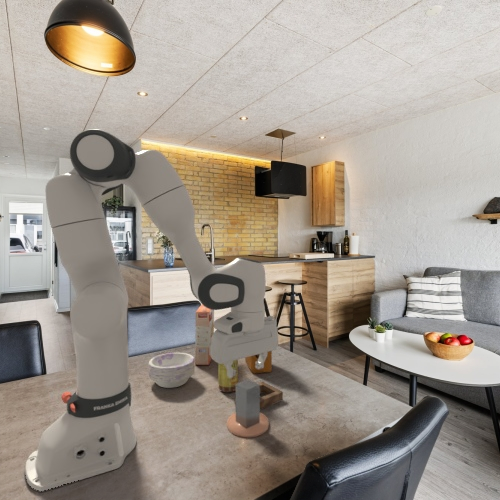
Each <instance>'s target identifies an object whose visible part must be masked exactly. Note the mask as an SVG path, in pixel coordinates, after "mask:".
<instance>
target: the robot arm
mask: <svg viewBox="0 0 500 500" xmlns="http://www.w3.org/2000/svg"><path fill="white" fill-rule="evenodd" d="M69 157H70V161H71V165H72V166H73V169H72V170H71V171H69V172H67V173H61V174H58V175H56V176H53V177H52V178H51V179H50V180H48V182H46V185H45V204H46V212H47V215H48V219H49V225H50V229H51V231H52V235H53V238H54V242H55V245H56V246H55V247H56V248H57V253H58V255H59V260H60V262H61V263H60V264H62V267H63V268H64V269H65V271H66V274H67V275H68V278H69V279H70V282H71V285H72V287H73V289H74V292H75V295H76V297H75V298H74V300H73V301H72V303H71V305H70V311H69V317H70V325H71V334H72V343H73V347H74V352H75V354H74V355H75V361H76V362H75V363H76V369H75V370H76V390H75V392H73V394H72V393H71V392H70V391H64V392H63V393H62V394H61V397H60V398H61V400H62V403H63V404H66V411H65V412H64V413H63V414H62V415H60V416H59V417H58V418H57V419H55V421H54V422H53V423H52V424H50V425H49V426H48V427H46V429H45V430H44V431H43V432H42V434H41V437H40V439H39V443H38V447H37V450H35V451H34V450H33V452H31V453H30V455H29V456H28V458H27V460H26V462H25V466H24V467H25V468H24V475H26V476H25V479H27V480H26V482H27V484H28V485H29V487H30V486H31V487H30V488H32V489H33V488H34V489H33V490H35V489H36V490H35V491H37V490H39V491H38V492H41V491H42V492H45V491H44V490H46V491H49V490H52V489H51V488H53V489H55V487H56V488H58V486H59V487H62V486H64V485H63V484H66V485H68V484H67V483H69V484H71V482H72V483H75V482H78V480H79V481H82V480H85V479H88V478H92V477H95V476H97V475H101V474H104V473H107V472H110V471H113V470H117V469H119V468H121V467H122V465H123V464H124V462H125V459H126V457H127V456H128V455H129V454H130V453H132V452H133V450H134V448H136V446H137V442H138V441H137V435H136V433H135V429H134V426H133V421H132V414H131V404H132V387H131V383H130V381H129V380H130V379H129V378H130V374H129V373H130V371H129V370H130V369H129V343H128V342H129V341H128V305H129V293H128V290H127V287H126V283H125V280H124V278H123V274H122V270H121V268H120V265H119V262H118V259H117V256H116V253H115V249H114V246H113V242H112V238H111V234H110V231H109V227H108V225H107V224H108V223H107V220H106V216H105V213H104V209H103V204H102V196H105V195H106V194H108V193H110V192H112V191H114V190H116V189H118V188H120V187H122V186H123V185H125V186H127V187H129V188H130V189H131V190H132V191H133V193H134V194H135V195H136V197H137V199H138V201H139V203H140V205H141V206H142V208H143V209H144V211H145V214H146V215H147V216H148V218H149V219H150V221H151V222H152V223H153V225H154V226H155V227H156V228H157V230H159V231H160V233H162V235H163V236H165V237H166V238H167V239H168V240H169V241H170V243H172V245H173V246H174V247H175V249H176V252H177V253H178V255H179V256H180V258H181V260H182V262H183V264H184V265H185V267H186V270H187V272H188V274H189V283H190V284H189V285H190V290H191V293H192V295H193V296H194V298H195V299H197V300H198V301H199V302H200V304H201V305H204V306H205V307H206V308H209V309H212V310H214V311H219V310H224V309H226V310H227V309H230V311H229V312H228V313H226V314H224V315H222V316H221V317H219V318H216V319H214V333H213V336H212V342H211V360H212V361H214V362H215V363H217V364H218V365H219V364H223V363H224V365H225V367H226V369H227V376H228V377H229V378H232V377H235V376H236V374H235V373H236V370H234V369H233V368H232V367H231V365H233V361H234V360H238V361H239V360H242V359H245V358H246V357H250V356H253V355H257V354H260V356H259V359H258V361H256V363H255V364H256V365H255V367H256V368H257V369H262V368H264V361H265V359H266V357H267V353H268V352H269V351H272V352H273V351H276V350H277V348H278V346H279V334H278V331H279V330H278V327H277V323H278V322H277V319H276V318H275V317H274V316H272V315H268V316H265V312H266V307H265V303H264V301H265V295H266V284H267V283H266V271H265V270H266V269H265V266H264V264H263V263H262V262H261V261H259V260H256V259H251V258H249V257H242V256H239V257H235V259H233V260H232V261H231V262H229V263H227V264H225V265H224V266H220V267H218V268H217V267H216V266H215V265H214V264H212V263H211V261H210V260H209V258H208V257H207V255H206V253H205V250H204V249H203V246H202V244H201V243H200V241H199V239H198V237H197V233H196V230H195V229H196V226H195V220H196V219H195V218H196V211H195V210H196V209H195V208H194V207H195V206H194V204H193V201H192V199H191V196H190V194H189V191H188V189H187V187H186V186H185V184H184V182H183V180H182V179H181V177H180V175H179V174H178V172H177V170H176V169H175V167H174V166H173V165H172V163H170V161H169V160H168V158H167V157H166V156H165V155H164V154H163V153H162V152H161V151H160V150H156V149H145V150H141V151H139V152H135V151H134V149H133V147H132V146H130V145H128V144H127V143H125V142H124V141H122V140H120V139H119V138H118V137H116V136H115V135H113V134H111V133H109V132H107V131H105V130H103V129H102V130H101V129H98V128H97V129H95V128H94V129H93V128H91V129H87V130H83V131H81V132H80V133H78V134H77V135H76V136H75V137H74V139H73V140H72V142H71V143H70V147H69ZM74 481H75V482H74ZM61 485H62V486H61ZM48 489H49V490H48Z"/></svg>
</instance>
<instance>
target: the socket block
mask: <svg viewBox="0 0 500 500" xmlns="http://www.w3.org/2000/svg"><path fill="white" fill-rule="evenodd" d="M257 384H259V385H260V394H265V395H263V396H260V411H261V410H263V409H265V408H267V407H270V406H272V405H274V404H277V403H279V402H281V401H283V400H284V399H283V398H284V397H283V396H284V391H282V390H280V389H278V388H276V387H275V386H272V385H270V384H268V383H266V382H265V381H261V382H259V383H257Z"/></svg>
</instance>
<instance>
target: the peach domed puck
mask: <svg viewBox="0 0 500 500" xmlns="http://www.w3.org/2000/svg"><path fill="white" fill-rule="evenodd" d="M269 424H270V423H269V418H268V417H267V416H266V415H265V414H263V413H261V412H260V422H259V423H257V424H255V425H253V426H251V427H249V428H247V429H246V428H245V427H243V426H242V425H240V424H239V423H238V422H236V412H234V413H232V414H231V415H229V417H228V418H227V421H226V428H227V430H228V431H229V432H230V433H231V434H233V435H234V436H237V437H241V438H254V437H255V438H256V437H259V436H261V435H264V434H265V433H266V432H267V431H268V428H269Z"/></svg>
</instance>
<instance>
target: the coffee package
mask: <svg viewBox="0 0 500 500" xmlns="http://www.w3.org/2000/svg"><path fill="white" fill-rule="evenodd" d="M272 353H273V351H269V352H268V353H267V357H266V359H265V361H264V368H262V369H257V368H256V367H255V365H256V364H255V363H256V361H258V359H259V356H260V354H257V355H253V356H250V357H246V358H244V360H245V363H246V365H247V367H248V368H249V370H250V371H251V373H253V374H261V373H262V374H264V373H271V372H272V368H273V367H272V365H273V364H272V363H273V362H272V361H273V360H272V359H273V358H272V355H273V354H272Z"/></svg>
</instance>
